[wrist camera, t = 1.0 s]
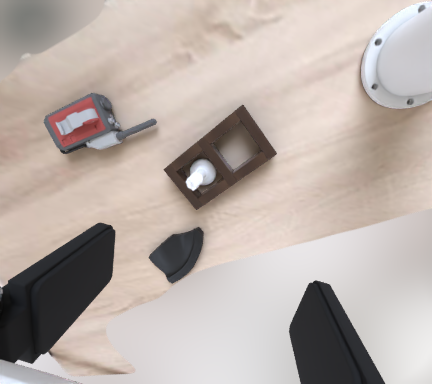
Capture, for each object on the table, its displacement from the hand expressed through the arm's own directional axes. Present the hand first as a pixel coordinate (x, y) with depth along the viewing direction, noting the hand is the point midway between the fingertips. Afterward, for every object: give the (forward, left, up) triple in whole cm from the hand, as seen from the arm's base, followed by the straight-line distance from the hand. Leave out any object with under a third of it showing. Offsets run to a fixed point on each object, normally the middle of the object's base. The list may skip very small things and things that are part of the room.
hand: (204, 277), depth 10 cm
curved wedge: (+20, +8, -29) cm, 36 cm away
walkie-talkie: (+14, -21, -29) cm, 38 cm away
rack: (+1, -3, -29) cm, 29 cm away
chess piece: (+5, -3, -29) cm, 29 cm away
